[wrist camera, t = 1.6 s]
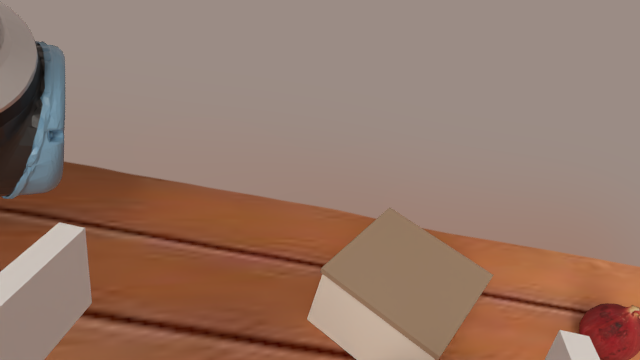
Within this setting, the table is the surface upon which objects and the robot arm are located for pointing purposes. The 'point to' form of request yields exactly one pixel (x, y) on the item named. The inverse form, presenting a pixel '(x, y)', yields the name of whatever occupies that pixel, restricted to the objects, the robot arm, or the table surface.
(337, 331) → the riser block
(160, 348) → the table surface
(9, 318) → the robot arm
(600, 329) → the onion
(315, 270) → the table surface
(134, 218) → the table surface
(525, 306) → the table surface
